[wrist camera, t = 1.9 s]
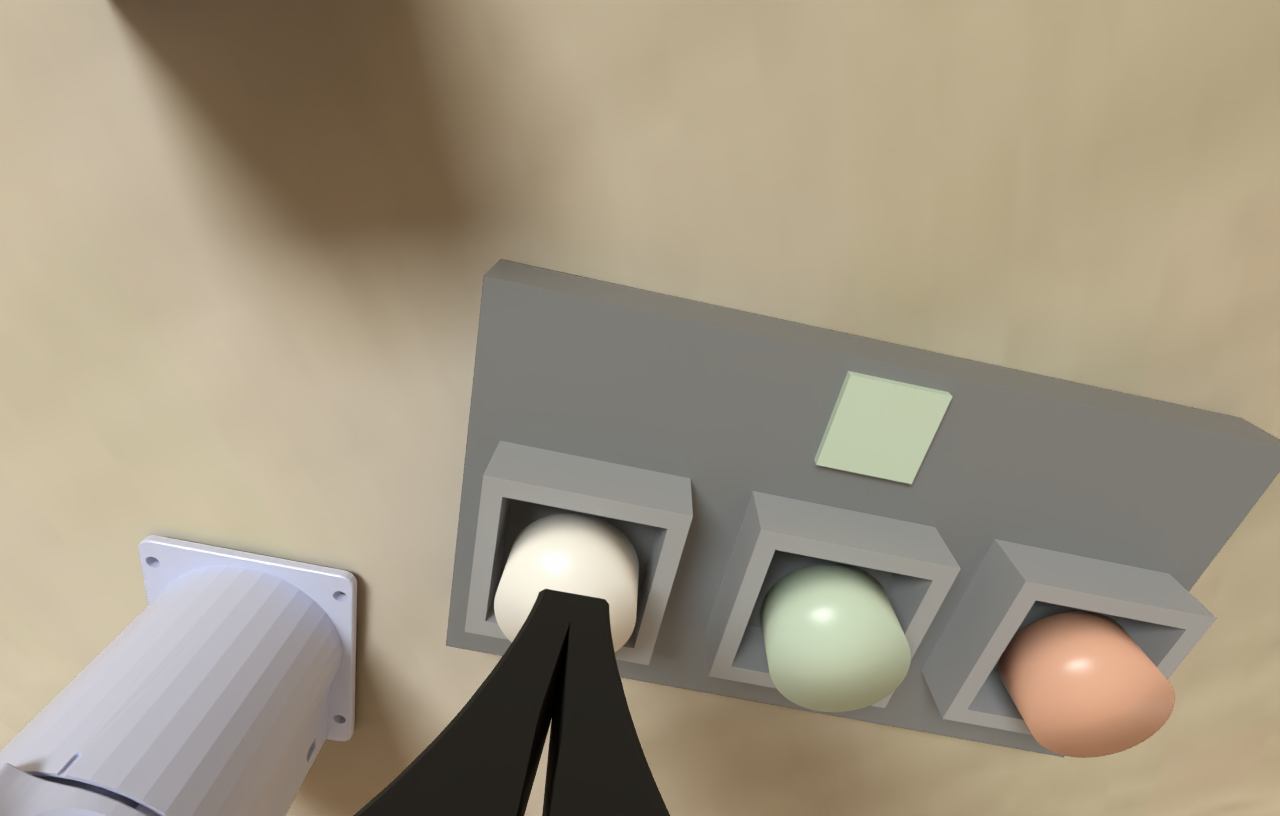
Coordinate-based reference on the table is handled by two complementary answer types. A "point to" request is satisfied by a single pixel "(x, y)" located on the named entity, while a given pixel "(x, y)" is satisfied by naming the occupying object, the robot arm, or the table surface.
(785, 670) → the sage green button
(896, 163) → the table surface
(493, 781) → the robot arm
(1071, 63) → the table surface
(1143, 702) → the terracotta button
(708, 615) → the button board
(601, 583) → the off-white button
